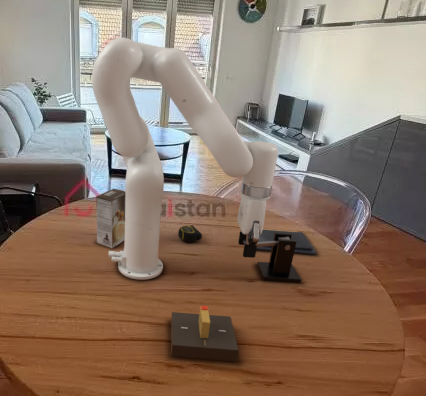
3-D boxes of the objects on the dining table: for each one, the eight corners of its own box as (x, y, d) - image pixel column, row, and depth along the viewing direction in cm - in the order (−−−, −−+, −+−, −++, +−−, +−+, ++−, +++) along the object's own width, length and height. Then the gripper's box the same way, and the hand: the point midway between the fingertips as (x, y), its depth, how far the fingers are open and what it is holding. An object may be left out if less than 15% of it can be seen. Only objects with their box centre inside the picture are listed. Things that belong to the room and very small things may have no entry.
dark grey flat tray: (253, 244, 115) (246, 224, 130) (252, 250, 116) (245, 229, 130) (318, 251, 114) (304, 229, 128) (317, 256, 114) (303, 234, 128)
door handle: (246, 254, 99) (246, 246, 98) (242, 244, 105) (242, 236, 104) (292, 251, 98) (293, 243, 97) (286, 241, 103) (286, 233, 103)
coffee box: (113, 232, 123) (114, 187, 117) (129, 237, 120) (130, 192, 114) (96, 243, 116) (95, 195, 110) (112, 249, 113) (113, 200, 107)
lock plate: (171, 356, 73) (172, 344, 72) (170, 322, 83) (171, 311, 82) (236, 361, 73) (238, 349, 72) (228, 327, 82) (230, 315, 81)
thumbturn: (208, 338, 74) (210, 321, 73) (200, 337, 74) (202, 320, 73) (205, 321, 79) (208, 305, 78) (198, 321, 79) (200, 305, 78)
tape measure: (202, 242, 119) (203, 232, 118) (182, 245, 117) (183, 234, 116) (193, 233, 125) (194, 223, 124) (174, 235, 123) (175, 225, 122)
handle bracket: (263, 280, 100) (270, 242, 96) (256, 265, 108) (263, 229, 104) (300, 283, 100) (309, 245, 96) (291, 267, 107) (299, 231, 103)
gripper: (235, 178, 104) (228, 235, 110) (248, 201, 87) (238, 266, 94) (262, 180, 103) (253, 237, 110) (280, 203, 87) (267, 268, 94)
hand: (246, 250), depth 102 cm, fingers closed on door handle, 6 cm apart
